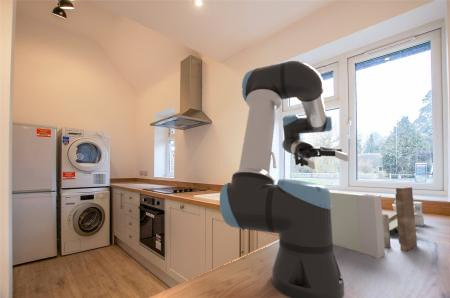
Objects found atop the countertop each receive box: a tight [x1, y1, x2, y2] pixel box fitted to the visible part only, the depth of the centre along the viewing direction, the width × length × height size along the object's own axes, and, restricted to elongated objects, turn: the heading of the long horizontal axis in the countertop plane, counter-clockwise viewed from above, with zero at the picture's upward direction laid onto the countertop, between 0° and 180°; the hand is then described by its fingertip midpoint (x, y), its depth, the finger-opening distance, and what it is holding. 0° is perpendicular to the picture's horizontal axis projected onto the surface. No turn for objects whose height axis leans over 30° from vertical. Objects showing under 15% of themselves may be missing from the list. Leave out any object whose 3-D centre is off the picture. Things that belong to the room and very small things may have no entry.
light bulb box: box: [393, 200, 425, 227], centre depth 110 cm, size 11×7×11 cm, turn 46°
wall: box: [387, 211, 418, 233], centre depth 94 cm, size 16×9×15 cm
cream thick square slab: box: [329, 191, 386, 259], centre depth 74 cm, size 17×5×18 cm, turn 35°
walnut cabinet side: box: [382, 186, 418, 252], centre depth 77 cm, size 6×11×20 cm, turn 125°
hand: (330, 161), depth 81 cm, fingers open, 13 cm apart
